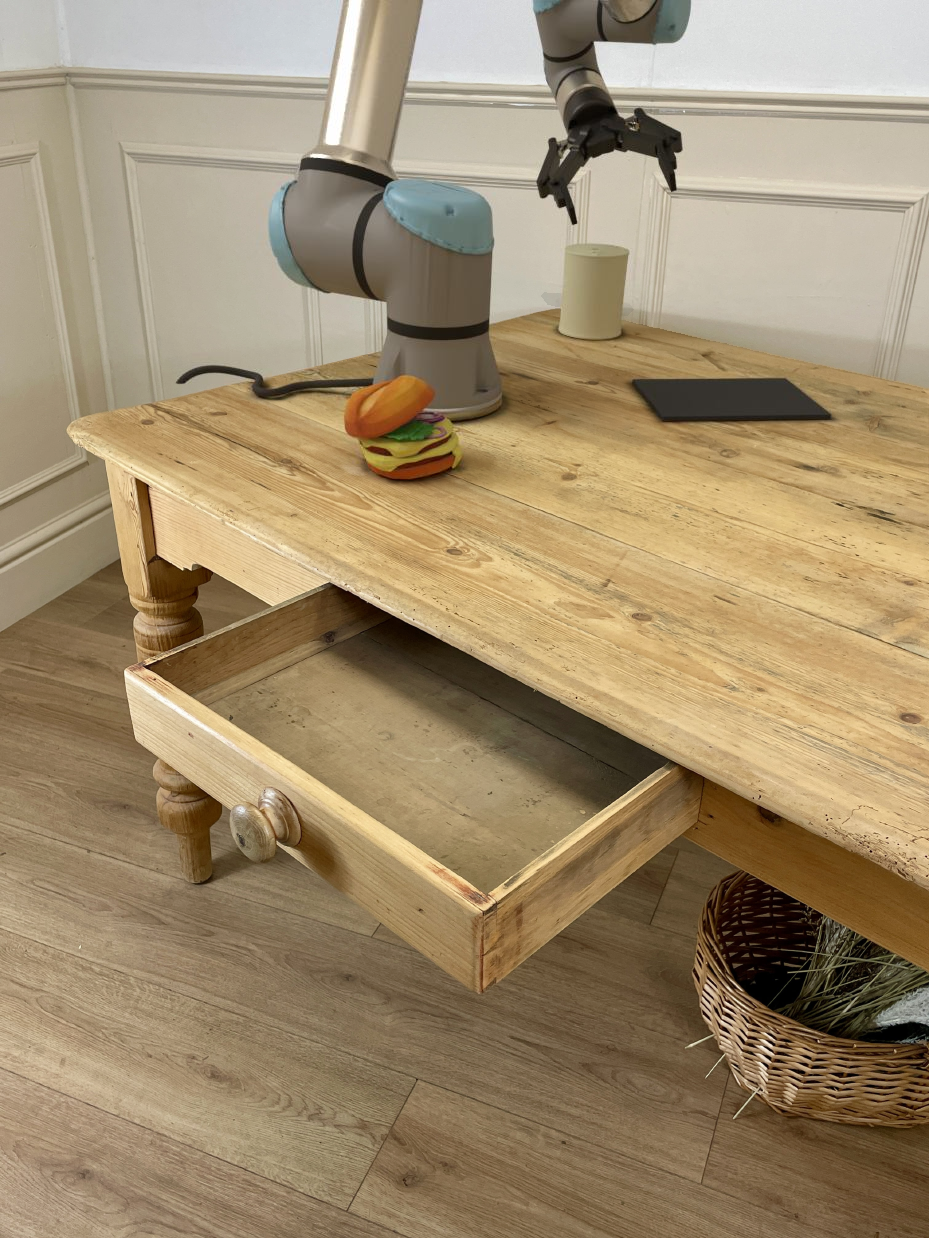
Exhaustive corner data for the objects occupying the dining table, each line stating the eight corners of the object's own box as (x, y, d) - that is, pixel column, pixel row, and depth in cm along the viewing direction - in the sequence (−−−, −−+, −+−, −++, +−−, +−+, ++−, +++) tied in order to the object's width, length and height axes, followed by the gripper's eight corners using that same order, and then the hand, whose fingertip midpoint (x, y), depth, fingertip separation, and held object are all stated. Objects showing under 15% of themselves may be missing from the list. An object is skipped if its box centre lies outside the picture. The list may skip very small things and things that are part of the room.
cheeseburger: (464, 485, 95) (440, 386, 90) (357, 506, 96) (327, 410, 91) (465, 446, 104) (444, 353, 99) (367, 466, 105) (340, 375, 100)
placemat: (662, 421, 113) (663, 416, 113) (631, 383, 125) (632, 379, 124) (830, 419, 115) (831, 414, 115) (784, 382, 127) (785, 377, 127)
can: (555, 337, 143) (561, 250, 137) (560, 321, 151) (567, 238, 145) (620, 342, 142) (629, 254, 135) (622, 325, 149) (630, 242, 143)
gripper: (674, 106, 145) (717, 192, 133) (510, 163, 148) (538, 252, 137) (670, 57, 139) (714, 142, 127) (499, 117, 142) (526, 206, 131)
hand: (622, 199), depth 132 cm, fingers open, 13 cm apart
